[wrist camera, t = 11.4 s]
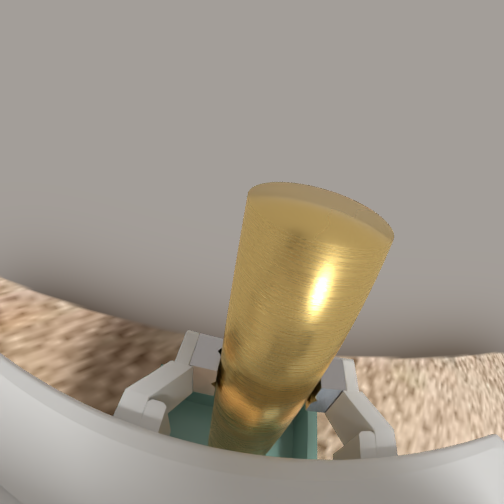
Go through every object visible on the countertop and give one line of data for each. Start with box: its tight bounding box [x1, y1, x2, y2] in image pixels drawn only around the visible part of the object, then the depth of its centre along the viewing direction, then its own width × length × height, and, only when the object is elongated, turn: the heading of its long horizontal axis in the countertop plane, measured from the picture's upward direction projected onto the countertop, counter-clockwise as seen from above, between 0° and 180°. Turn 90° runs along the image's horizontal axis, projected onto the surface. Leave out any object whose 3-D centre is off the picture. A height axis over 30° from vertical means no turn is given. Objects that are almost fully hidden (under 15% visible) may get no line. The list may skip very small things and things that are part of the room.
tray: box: [160, 364, 317, 460], centre depth 17 cm, size 14×14×5 cm
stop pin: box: [208, 182, 394, 456], centre depth 10 cm, size 4×4×15 cm
